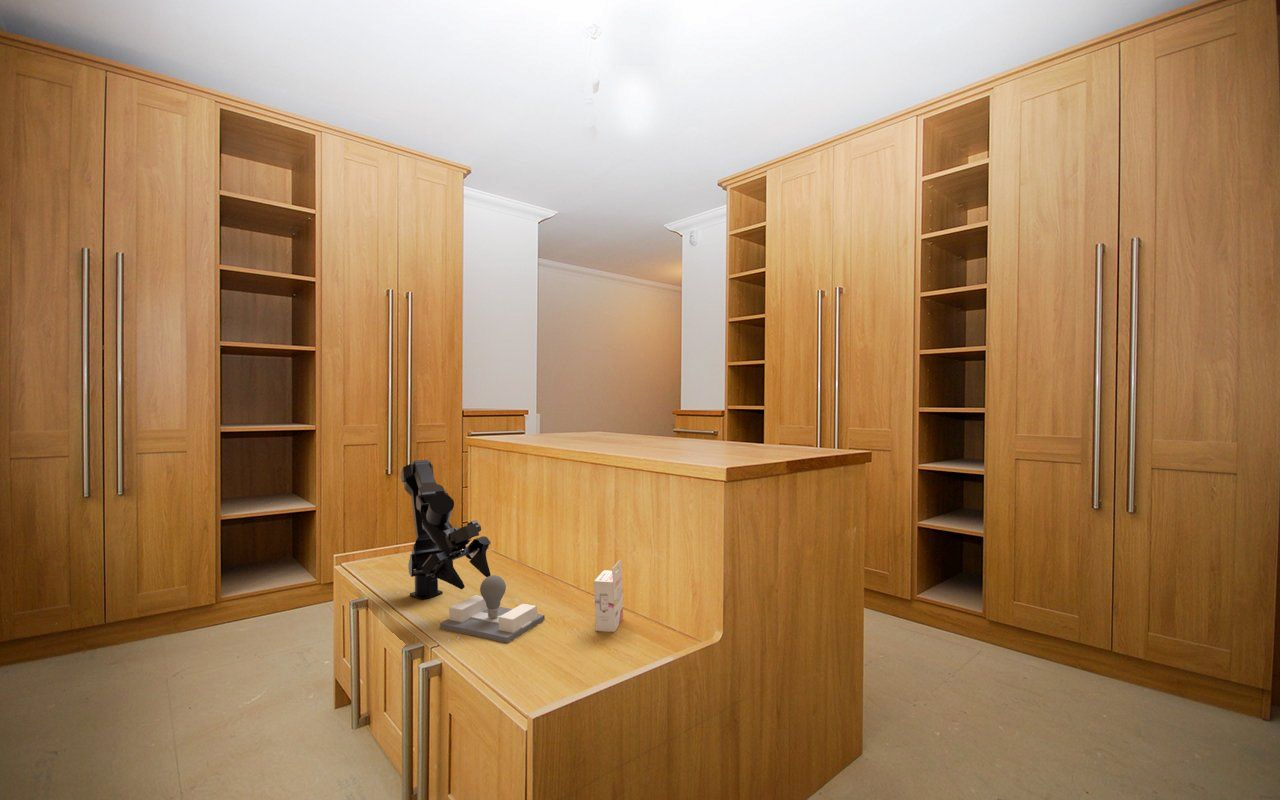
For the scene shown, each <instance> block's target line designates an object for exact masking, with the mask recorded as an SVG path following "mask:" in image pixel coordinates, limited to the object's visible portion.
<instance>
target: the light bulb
mask: <svg viewBox="0 0 1280 800" xmlns="http://www.w3.org/2000/svg"><path fill="white" fill-rule="evenodd" d="M506 589H507V585H506V581H505V580H504V579H503V577H501V576H499V575H497V574H496V575H494V574H493V575H490V576H489V577H485V578H484V579H483V581H482V582H481V584H480V586H479V591H480V596H482V597H483V599H484V600H485V602H486V606H487V608H488V617H490V618H495V617H497V616H499V613H498V612H499V607H501V601H502V599H503V597H504V596H505V594H506Z"/></svg>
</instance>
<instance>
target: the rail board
mask: <svg viewBox="0 0 1280 800" xmlns="http://www.w3.org/2000/svg"><path fill="white" fill-rule="evenodd" d="M537 608H538V607H537V605H532V604H527V603H520V604H519V605H517V606H516V607H515V608H508V607H505V606H504V607H502V606H499V612H498V613H499V616H497V617H495V618H490V617H488V608H487V606H486V602H485V600H484V599H483V597H482V595H477V594H474V595H472V596H470V597H468V598H466V599H463V600H462V601H459V602H457V603H455V604H453V605H451V606H449V607H448V614H449V615H448V617H449V618H447V619H446V620H442V621H441V622H439V629H442V630H445V631H446V630H448V631H451V632H456V633H460V634H464V635H470V636H474V637H479V638H482V639H488V640H491V641H497V642H500V643H501V642H502V643H506V644H508V643H510V642H512V641H513V640H515V639H516V638H518V637H520V636H521V635H523V634H525V633H526V632H528V631H529V630H531V629H533V628H534V627H536V626H537V625H539V624H540V623H542V622H544V621H545V619H546V617H545V614H542V613H538V612H537Z"/></svg>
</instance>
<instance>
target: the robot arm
mask: <svg viewBox="0 0 1280 800" xmlns="http://www.w3.org/2000/svg"><path fill="white" fill-rule="evenodd" d="M400 480H401V483H403V488H404V491H406V493H407V494H408V495H409V496H410V497H411V504H412V505H411V506H412V513H413V514H412V515H413V521H414V530H415V531H414V533H415V538H416V539H415V542H414V544H413V546H412V549H411V554H410V555H409V560H408V574H409V575H410V578H413V577H414V591H413V592H410V593H409V596H410V597H413V598H416V599H418V600H422V601H423V600H425V599H429V598H431V597H436V596H439V595H442V594H443V593H444V591H443V590H440V589H439V580H440V581H444V582H446V583H448V584H449V585H451V586H454V588H457V589H460V590H464V589H465V587H466V586H465V584H464V582H463V580H462V578H461V577H460V576H459V574H458V572H457V571H456V569H455V567H454V560H455V561H456V560H457V559H460V558H463V557H466V558H467V559H469V563H470V564H471V565H472V566H474V568H475V569H476V570H478V572H480V573H481V574H482V575H483V576H484V577H485V578H487V577H489V576H492V575H491V571H490V567H489V563H488V561H487V550H488V549H489V546H490V544H491V540H489V538H488V537H487V536H483V535H482V536H480V532H481V531H482V528H481V527H482V526H481V524H480V523H479V522H478V520H476V519H475V520H471V521H469V522H467V524H466V525H465V526H462V527H459V526H453V525H452V523H450V519H451V516H452V513H453V510H454V506H455V502H454V501H455V500H454V499H453V498H452V497H451V496H450V494H449V493H448V492H447V491H446V489H445V488H444V486H443V485H441V484H438V483H437V481H436V478H435V475H434V465H433V464H432V462H431V460H428V459H424V460H423V459H421V460H414V461H410V464H406V465H405V466H402V468H401V472H400ZM478 536H480V537H478ZM474 537H476V538H474ZM472 538H474V539H473V540H471V539H472ZM468 544H469V545H468ZM467 545H468V546H467Z"/></svg>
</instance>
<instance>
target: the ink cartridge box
mask: <svg viewBox="0 0 1280 800" xmlns="http://www.w3.org/2000/svg"><path fill="white" fill-rule="evenodd" d="M622 567H623V566H622V559H620V558H619V560H618V561H617V562H616V563H615V564H614V566H613V567H612V568H611V570H608V569H607V570H605V569H604V570H603V571H602V572H601V573H600V574H598V576H597V577H596V579H594V581H593V585H594V586H593V587H594V591H593V592H594V617H595V619H594V621H595V623H594V624H595V632H607V633H608V632H609V633H615V632H616V630H617V629H618V627H620V626H619V625H620V623H621V622H622V620H623V618H624V611H623V610H624V607H623V605H624V599H623V568H622Z"/></svg>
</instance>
